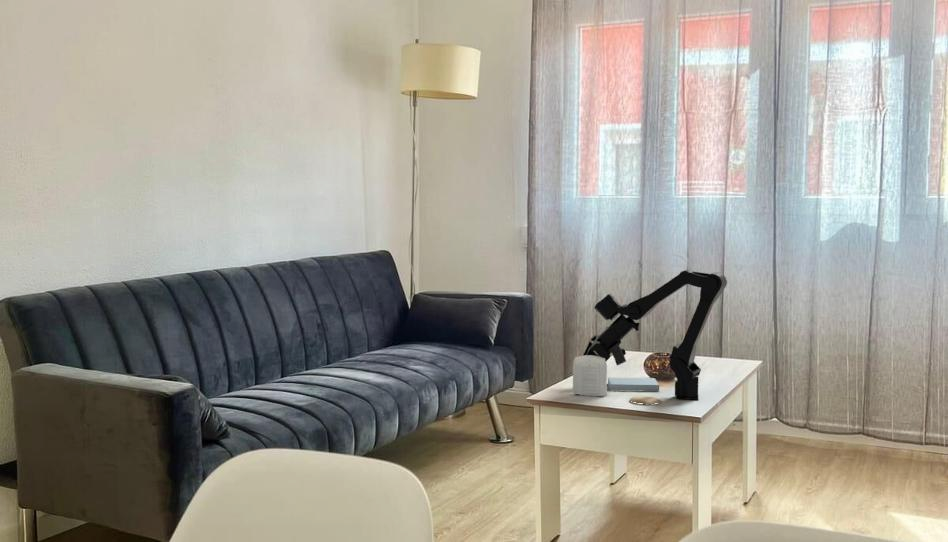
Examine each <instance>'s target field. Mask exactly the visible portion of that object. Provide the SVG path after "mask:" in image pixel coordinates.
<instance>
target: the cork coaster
mask: <svg viewBox="0 0 948 542" xmlns="http://www.w3.org/2000/svg"><path fill="white" fill-rule="evenodd" d="M630 401H632V402H636V403H643V404H655V403H660V402H661V403H662V401H661V399H660V398H657V397H655V396H654V397H653V396H633V397H631V398H629V402H630ZM661 403H660V404H661Z"/></svg>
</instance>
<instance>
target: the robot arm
mask: <svg viewBox="0 0 948 542" xmlns="http://www.w3.org/2000/svg"><path fill="white" fill-rule="evenodd" d="M727 284H728V280H727V277H726V276H725V275H724V274H723V273H721V272H719V271H718V272H713V273H708V272H707V273H706V272H699V271H695V270H694V271H693V270H690V269H685V270H682V271H680V273H679V274H678V275H676V276H674V277H673V278H671V279H670V280H669V281H667V282H666V283H664V284H663V285H661V286H659V288H657V289H655V290H654V291H652V292H651V293H649V294H648V295H645V296H643V297H640V298H638V299H635V300H634V301H631V302H629V303H628V304H620V303H619V301H617V299H616V298H615V297H614V296H613V294H612V293H607V294H606V296H605V297H603V298H602V299H601V300H599V301H598V302H597V303H596V304H595V305H594V307H593V308H594V309H595V311H597V313H598V314H599V315H600V316H601V317H602V318H603V319H604V320H605V321H607V322H608V321H609V320H610V321H611V322H612V323H611V324H610V325H608V326H607V325H606V327H605V328H604V329H605V330H603V331H602V332H601V334H593V336H591V337H590V340H588V343H587V345H586V348H585V350H584V353H582V356H584V355H593V356H599V357H602V358H605V361H606V362H607V361H608V360H609V359H610V358H611V355H612V356H613V358H614V362H615V364H616V366H620V365H622V364H624V363H626V362H627V360H626V357H625V355H626V353H627V351H626V349H625V348H624V347H620V345H621V344H622V340H623V339H624V338H625V337H626V336H627V335H628V334H629V333H630V332H631V331H632V330H633V329H634V330H635V332H638V333H639V332H640V331H641V329H640V327H641V323H640V322H636V321H639V320H641V319H644V318H646V317H648V315H650V314H651V313H652V311H654V309H655V308H656V307H657V306H658V305H659V304H661V303H662V302H663V301H664V300H667V298H669V297H670V296H672V295H674V294H675V293H677V292H678V291H680V290H681V289H683V288H684V287H686V286H687V285H689V286H693V287H697V288H699V289H700V291H699V300H698V303H697V306H696V308H695V310H694V312H693V314H692V315H693V316H692V319H691V320H690V323H689V325H688V328H687V330H686V332H685V335H684V337H683V340H682V341H681V343H678V344H676V345H674V346H673V347H672V351H671V354H670V356H668V359H669V362H668V363H669V364H668V365H669V367H670V369H671V371H672V372H673V373H674V375H675V378H676V380H675V381H674V396H675V399H676V398H678V399H679V400H695V401H696V400H697V401H699V376H700V374H701V371H702V369H701V368H700V366H699V365H698V364H697V363H696V362H695V357H696V355H697V354H696V352H697V345H698V343H699V340H700V337H701V334H702V332H703V331H704V328H705V326H706V322H707V321H708V318H709V316H710V314H711V311H712V310H713V309H712V308H713V306H714V304H715V303H716V301H717V300H718V299H719V297H720V296H721V295H722V293H723V292H724V290H725V289H726V287H727ZM626 316H627V317H626ZM678 399H677V400H678Z"/></svg>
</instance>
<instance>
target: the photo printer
mask: <svg viewBox="0 0 948 542" xmlns="http://www.w3.org/2000/svg"><path fill="white" fill-rule="evenodd" d="M607 375H608V365H607V361H605V358H602V357H599V356H593V355H584V356H583V355H579V356H576V357H574V359H573V362H572V394H573V393H574V394H573V395H575V394H579V395H578V396H590V395H593V397H606V395H607V389H608V388H607V385H608V376H607Z"/></svg>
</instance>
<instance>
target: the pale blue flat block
mask: <svg viewBox="0 0 948 542" xmlns="http://www.w3.org/2000/svg"><path fill="white" fill-rule="evenodd" d="M608 384H609V385H608ZM607 385H608V387H609V390H610V389H611V390H644V391H643V392H660V384H659V382H658V381H657V380H656V378H653V377H608V376H607ZM611 390H610V391H611Z"/></svg>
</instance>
